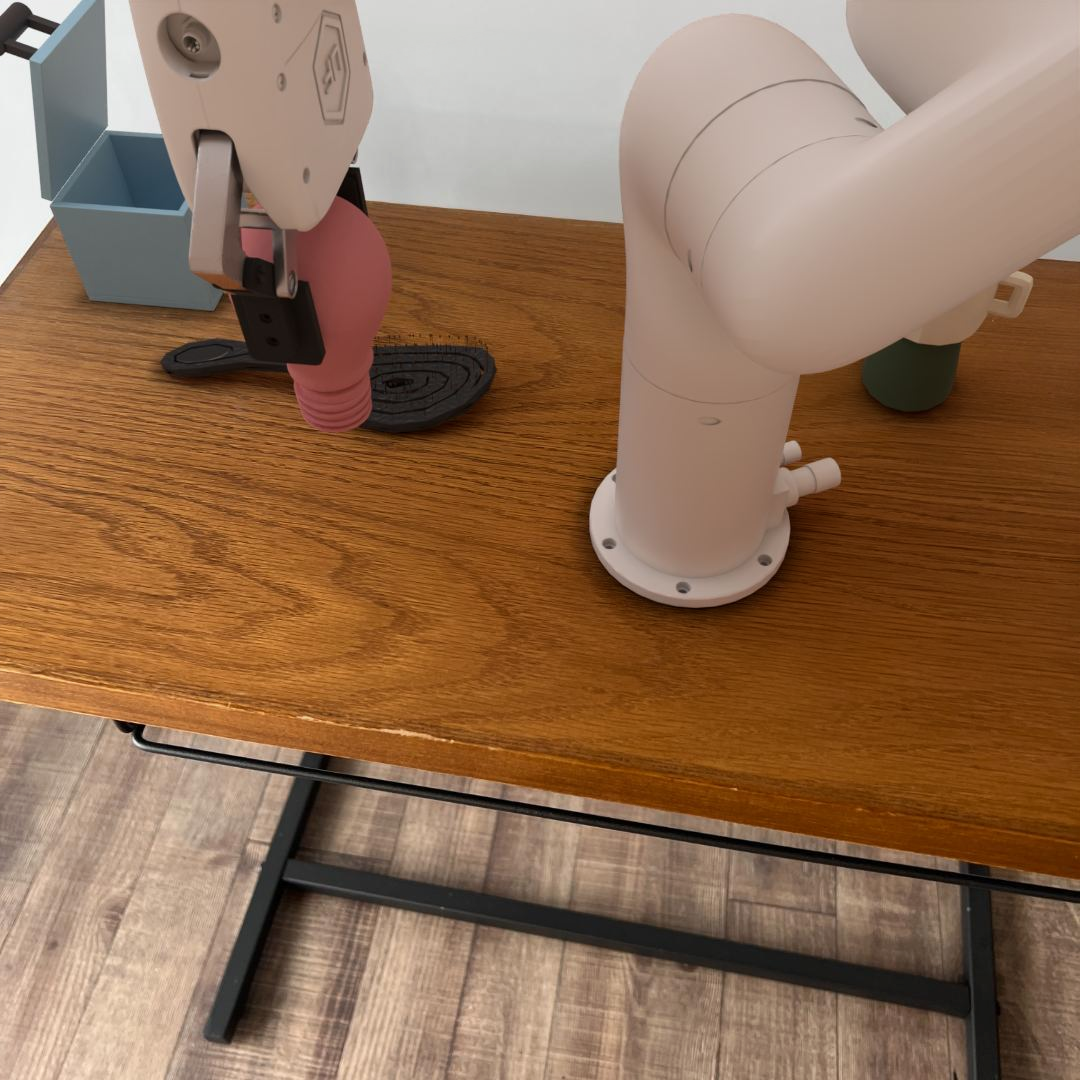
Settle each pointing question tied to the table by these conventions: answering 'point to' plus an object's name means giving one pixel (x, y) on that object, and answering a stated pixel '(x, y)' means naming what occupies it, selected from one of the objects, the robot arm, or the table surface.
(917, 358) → the cream handled cup
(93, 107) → the lid
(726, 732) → the table surface
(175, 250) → the box
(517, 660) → the table surface
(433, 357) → the hairbrush
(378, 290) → the light bulb
